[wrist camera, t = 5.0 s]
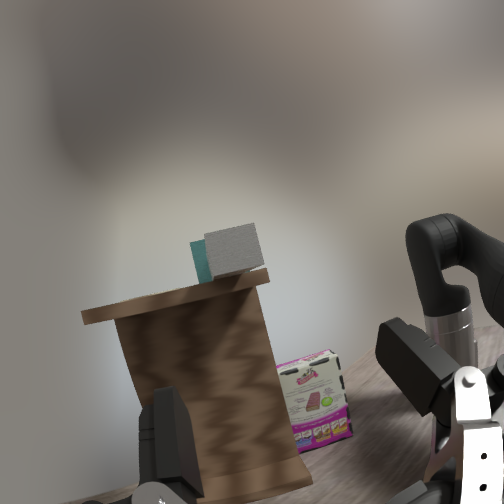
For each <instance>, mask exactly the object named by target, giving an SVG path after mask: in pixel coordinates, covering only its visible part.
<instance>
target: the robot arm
mask: <svg viewBox="0 0 504 504" xmlns="http://www.w3.org/2000/svg"><path fill="white" fill-rule="evenodd" d="M406 247H407V252H408V256H409V259H410V262H411V266H412V270H413V273H414V277H415V281H416V286H417V290H418V295H419V298H420V301H421V304H422V307H423V312H424V318H425V325H426V333H427V334H426V333H425V332H424V331H423V330H422V329H420V328H417V327H415V326H413V325H411V324H410V325H407V324H406V323H405V322H404V321H402V320H401V319H400V318H398V317H396V318H393V319H391V320H389V321H386V322H384V323H382V324H380V326H379V332H378V338H377V344H376V349H375V354H376V358H377V361H378V363H379V364H380V366H381V367H382V368H383V369H384V370H385V372H386V373H387V374H388V375H389V376H390V378H391V379H392V380H393V381H394V383H395V384H396V385H397V386H398V387H399V389H400V390H401V391H402V392H403V394H404V395H405V396H406V397H407V399H408V400H409V401H410V402H411V403H412V405H413V406H414V407H415V408H416V410H417V411H418V412H419V413H420V415H421V416H422V417H424V416H425V415H427V414H428V413H430V412H432V413H433V414H434V416H433V420H432V441H431V454H430V460H429V463H428V465H427V467H426V470H425V474H424V480H423V482H422V480H419V481H418V482H416V483H415V484H413V485H411V486H410V487H408V488H406V489H405V490H403V491H401V492H400V493H398V494H396V495H395V496H394V497H393V498H391V499H390V500H389V501H388V502H387V503H386V504H504V489H502V488H503V454H502V450H503V451H504V354H502V355H501V356H500V357H499V358H498V360H497V362H496V364H495V365H494V366H491V367H488V368H485V369H482V370H479V369H478V348H477V340H476V339H474V330H473V319H472V310H471V301H470V294H469V290H468V288H467V287H465V286H462V285H450V284H447V283H446V282H445V281H444V278H443V275H442V272H441V270H444V269H447V268H449V267H451V266H455V265H459V266H463V267H465V268H467V269H468V270H470V271H471V272H473V273H474V274H475V275H476V276H477V277H478V282H479V287H480V293H481V297H482V300H483V303H484V306H485V308H486V310H487V312H488V313H489V314H490V316H491V317H492V318H493V319H494V320H495V321H496V322H497V323H498V324H500V325H501V326H502V327H503V328H504V243H503V242H501V241H499V240H497V239H495V238H493V237H491V236H489V235H487V234H485V233H483V232H482V231H480V230H479V229H477V228H476V227H474V226H472V225H471V224H470V223H468V222H466V221H464V220H463V219H461V218H460V217H458V216H455V215H453V214H448V213H446V214H440V215H436V216H432V217H429V218H425V219H422V220H418V221H415V222H413V223H411V224H410V225H409V226H408V227H407V230H406ZM139 467H140V469H139V470H140V481H139V485H138V487H137V488H136V490H135V491H134V493H133V494H132V495H131V496H129V497H127V498H125V499H122V500H119V501H116V502H113V503H109V504H197V500H196V499H198V498H205V496H204V491H203V486H202V481H201V476H200V471H199V465H198V459H197V454H196V448H195V441H194V435H193V428H192V422H191V418H190V414H189V412H188V409H187V407H186V405H185V404H184V402H183V400H182V398H181V396H180V394H179V392H178V390H177V389H176V387H175V386H169V387H164V388H158V389H155V390H154V404H150V405H144V407H143V409H142V412H141V414H140V416H139ZM82 504H103V503H101V502H98V501H93V500H92V501H86V502H84V503H82Z"/></svg>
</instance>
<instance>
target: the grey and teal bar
mask: <svg viewBox="0 0 504 504" xmlns="http://www.w3.org/2000/svg"><path fill="white" fill-rule="evenodd" d="M204 238H205V239H204V240H199V241H195V242H191V243H190V246H191V250H192V254H193V259H194V263H195V268H196V271H197V276H198V280H199V284H202V283H206V282H210V281H214V280H218V279H222V278H226V277H231V276H235V275H239V274H243V273H247V272H250V270H252V269H254V268H256V267H258V266H261V265H263V264H264V260H263V256H262V253H261V248H260V245H259V241H258V237H257V233H256V229H255V225H254V223H251V224H246V225H242V226H237V227H233V228H228V229H224V230H219V231H215V232H211V233H206V234H204Z"/></svg>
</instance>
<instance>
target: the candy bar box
mask: <svg viewBox="0 0 504 504" xmlns="http://www.w3.org/2000/svg"><path fill="white" fill-rule="evenodd" d="M276 368H277V372H278V376H279V380H280V383H281V387H282V391H283V395H284V399H285V403H286V407H287V411H288V414H289V418H290V422H291V426H292V430H293V434H294V437H295V441H296V445H297V449H298V453H299V454H301V453H304V452H308V451H311V450H314V449H317V448H320V447H323V446H326V445H329V444H332V443H334V442H337V441H340V440H342V439H345V438H347V437H350V436H352V435H353V431H352V425H351V419H350V414H349V408H348V403H347V398H346V392H345V387H344V382H343V377H342V373H341V368H340V363H339V359H338V355H337V354H335V353H334V352H332V351H331V350H330V349H329V350H325V351H322V352H320V353H317V354H313V355H310V356H307V357H304V358H300V359H297V360H294V361H291V362H288V363H284V364H280V365H277V366H276Z"/></svg>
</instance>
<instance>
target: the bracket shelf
mask: <svg viewBox="0 0 504 504" xmlns="http://www.w3.org/2000/svg"><path fill="white" fill-rule="evenodd" d="M269 282H270V280H269V276H268V272H267V268H263V269H259V270H255V271H251V272H247V273H243V274H239V275H235V276H231V277H226V278H222V279H218V280H214V281H210V282H206V283H202V284H198V285H194V286H189V287H185V288H176V289H172V290H168V291H163V292H159V293H154V294H150V295H146V296H142V297H137V298H133V299H129V300H124V301H121V302H120V303H115V304H111V305H106V306H102V307H98V308H93V309H88V310H84V311H81V313H82V318H83V322H84V325H87V324H92V323H97V322H102V321H107V320H112V319H114V321H115V325H116V329H117V332H118V336H119V340H120V343H121V346H122V350H123V353H124V357H125V359H126V363H127V366H128V369H129V372H130V375H131V378H132V381H133V384H134V387H135V390H136V392H137V395H138V398H139V400H140V403H141V406H142V408H143V407H144V405H150V404H154V390H155V389H158V388H164V387H169V386H175V387H176V389H177V390H178V392H179V394H180V396H181V398H182V400H183V402H184V404H185V405H186V407H187V409H188V412H189V414H190V418H191V422H192V428H193V435H194V441H195V448H196V454H197V459H198V465H199V471H200V476H201V481H202V486H203V491H204V496H205V498H198V499H196V500H197V504H245V503H249V502H253V501H258V500H262V499H265V498H269V497H273V496H277V495H280V494H283V493H287V492H290V491H293V490H296V489H299V488H302V487H305V486H308V485H311V484H313V481H312V477H311V474H310V473H309V471H308V469H307V468H306V466H305V464H304V463H303V461H302V459H301V458H300V456H299V453H298V449H297V445H296V441H295V437H294V434H293V430H292V426H291V422H290V418H289V414H288V411H287V407H286V403H285V399H284V395H283V391H282V387H281V383H280V380H279V376H278V372H277V368H276V364H275V361H274V356H273V352H272V348H271V345H270V341H269V337H268V333H267V329H266V325H265V321H264V317H263V313H262V309H261V305H260V302H259V297H258V294H257V290H256V286H257V285H261V284H264V283H269Z"/></svg>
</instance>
